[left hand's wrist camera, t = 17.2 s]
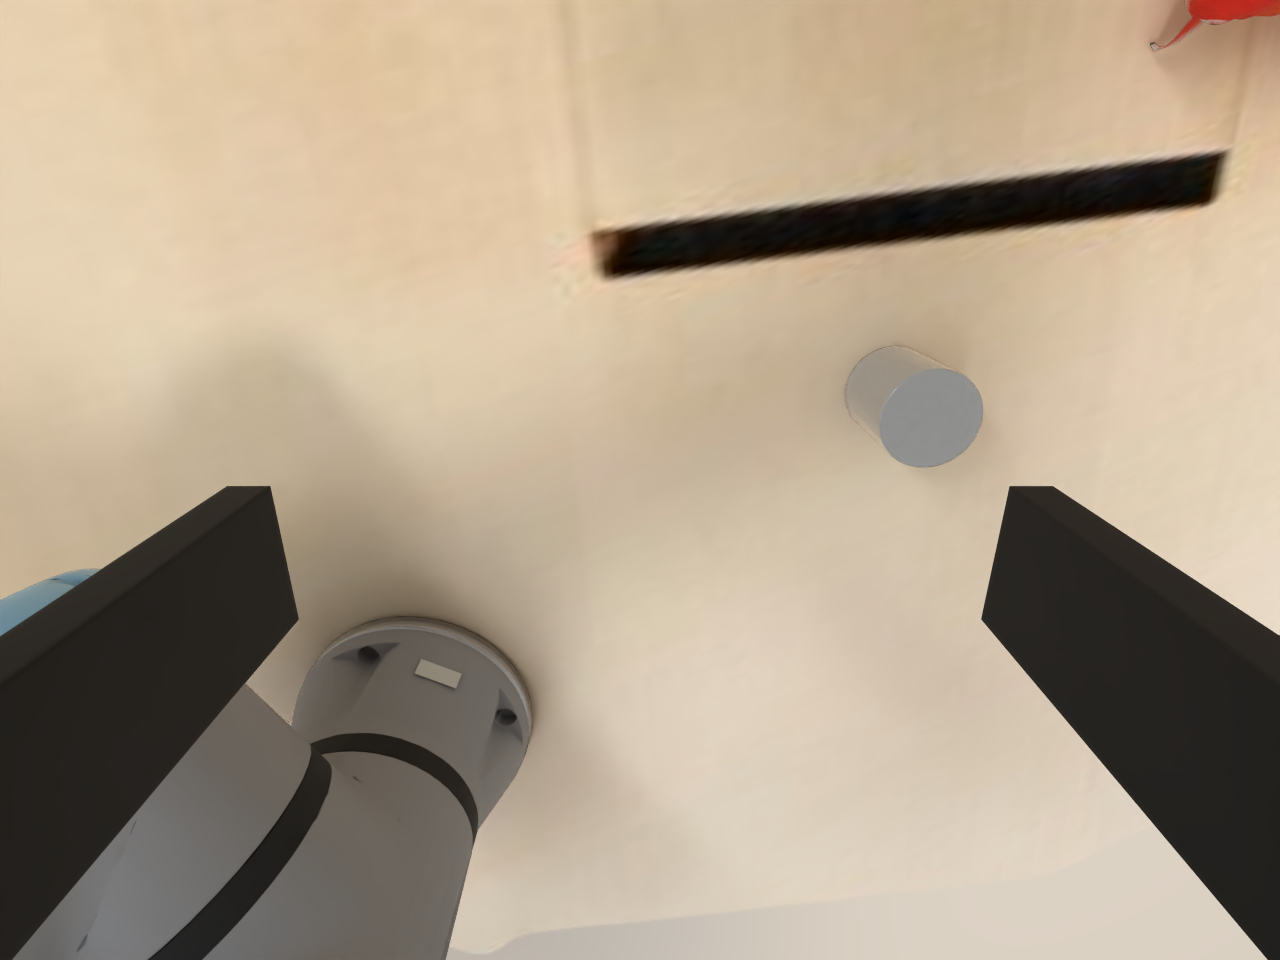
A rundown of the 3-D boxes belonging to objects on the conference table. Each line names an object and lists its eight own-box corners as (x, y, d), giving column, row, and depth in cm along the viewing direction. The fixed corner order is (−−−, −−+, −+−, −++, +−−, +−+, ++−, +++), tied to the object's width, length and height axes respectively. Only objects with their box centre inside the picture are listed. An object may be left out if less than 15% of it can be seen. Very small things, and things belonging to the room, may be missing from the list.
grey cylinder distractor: (897, 447, 40) (939, 485, 34) (827, 405, 39) (858, 437, 33) (952, 374, 38) (1005, 401, 33) (880, 328, 37) (923, 349, 32)
